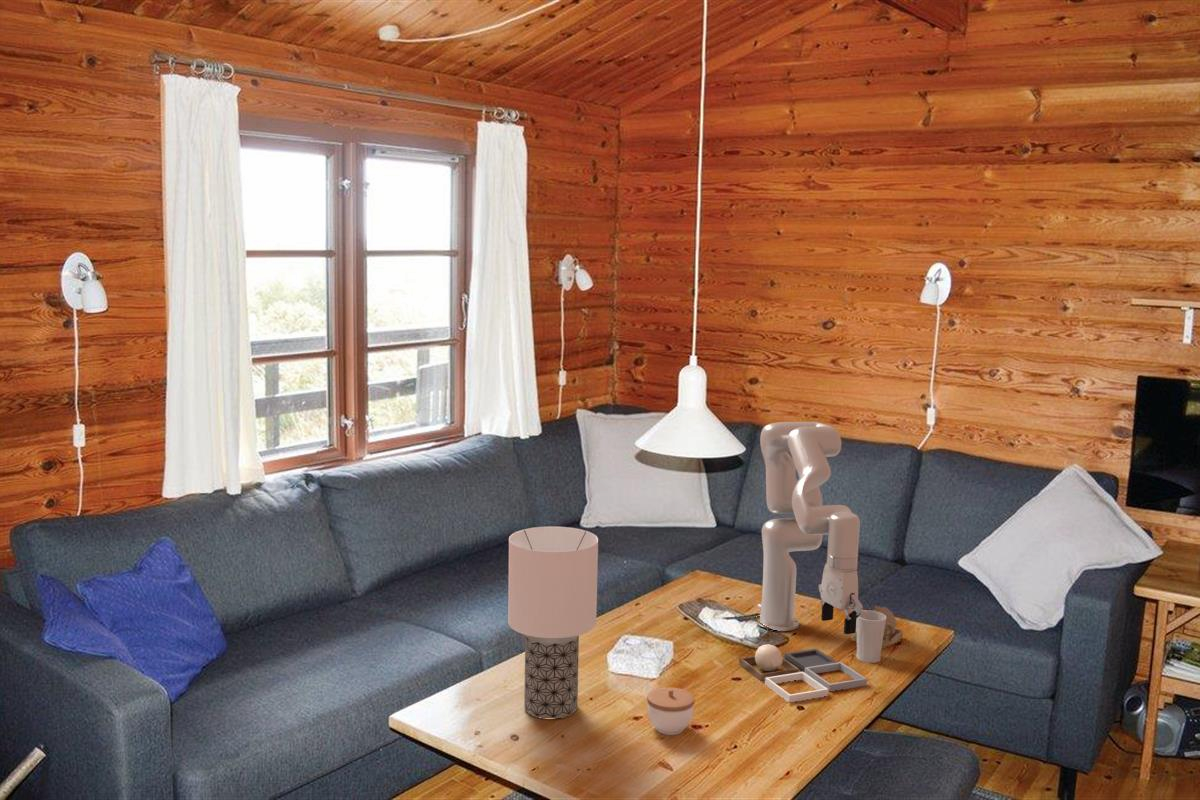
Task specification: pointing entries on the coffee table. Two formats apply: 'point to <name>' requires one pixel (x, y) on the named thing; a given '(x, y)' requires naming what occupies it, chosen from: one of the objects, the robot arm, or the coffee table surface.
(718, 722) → the coffee table surface
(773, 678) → the white frame
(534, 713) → the lamp
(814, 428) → the robot arm
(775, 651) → the beige ball
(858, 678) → the grey frame
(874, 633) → the cup
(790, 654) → the dark grey tray
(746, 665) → the walnut frame
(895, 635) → the ceramic model
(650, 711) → the lidded jar
